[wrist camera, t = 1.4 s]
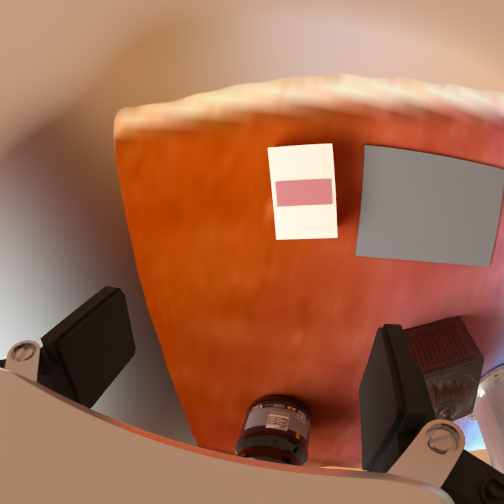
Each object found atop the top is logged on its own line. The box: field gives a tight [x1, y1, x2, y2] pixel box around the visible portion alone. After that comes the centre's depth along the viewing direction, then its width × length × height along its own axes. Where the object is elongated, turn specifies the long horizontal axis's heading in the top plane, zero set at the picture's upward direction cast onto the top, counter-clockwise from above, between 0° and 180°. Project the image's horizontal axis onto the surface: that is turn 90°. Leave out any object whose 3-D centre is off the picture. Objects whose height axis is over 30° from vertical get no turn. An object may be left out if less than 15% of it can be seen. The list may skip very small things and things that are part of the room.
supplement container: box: [235, 396, 312, 466], centre depth 38 cm, size 10×10×12 cm
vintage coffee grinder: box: [403, 316, 484, 422], centre depth 28 cm, size 16×11×18 cm
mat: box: [356, 145, 504, 267], centre depth 29 cm, size 18×12×1 cm, turn 90°
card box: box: [268, 143, 337, 240], centre depth 30 cm, size 6×9×4 cm, turn 7°
